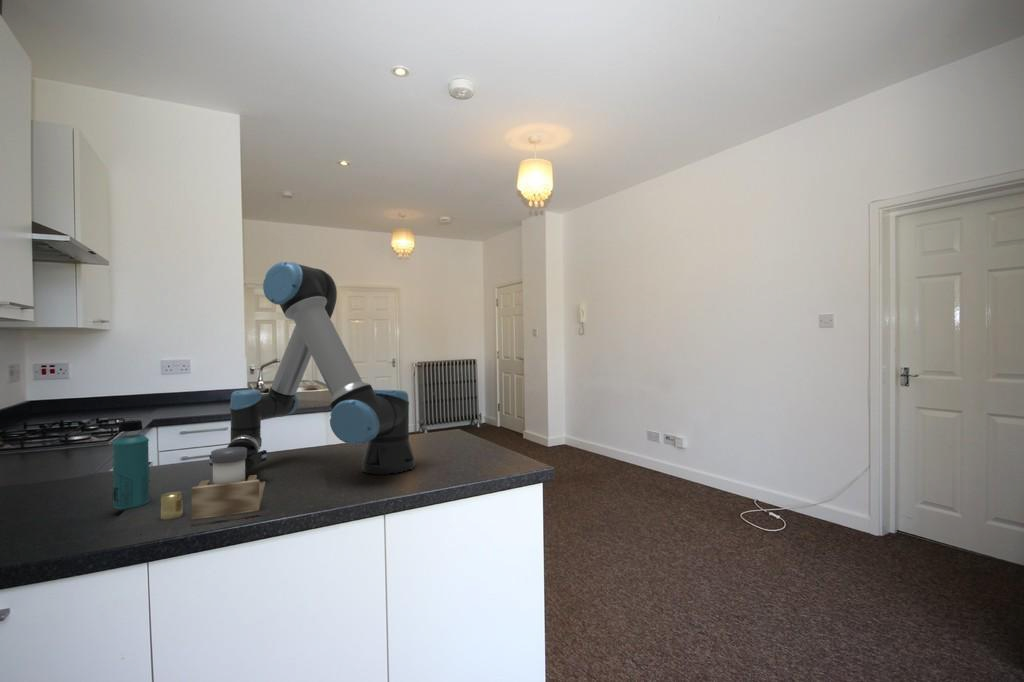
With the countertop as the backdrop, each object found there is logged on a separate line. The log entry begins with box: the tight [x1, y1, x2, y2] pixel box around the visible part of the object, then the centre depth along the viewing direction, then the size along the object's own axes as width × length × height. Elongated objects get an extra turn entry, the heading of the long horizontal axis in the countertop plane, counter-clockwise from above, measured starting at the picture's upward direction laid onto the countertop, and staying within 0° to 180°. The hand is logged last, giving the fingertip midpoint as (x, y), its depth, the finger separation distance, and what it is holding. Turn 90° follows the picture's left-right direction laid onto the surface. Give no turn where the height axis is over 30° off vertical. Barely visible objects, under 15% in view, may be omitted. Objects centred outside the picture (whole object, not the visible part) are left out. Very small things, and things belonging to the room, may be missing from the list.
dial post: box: [160, 491, 183, 520], centre depth 97 cm, size 4×4×6 cm
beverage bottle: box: [111, 419, 151, 510], centre depth 104 cm, size 6×7×20 cm
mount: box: [190, 474, 266, 528], centre depth 108 cm, size 12×24×8 cm, turn 24°
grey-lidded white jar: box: [210, 446, 247, 485], centre depth 102 cm, size 7×7×12 cm
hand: (230, 473), depth 105 cm, fingers closed
